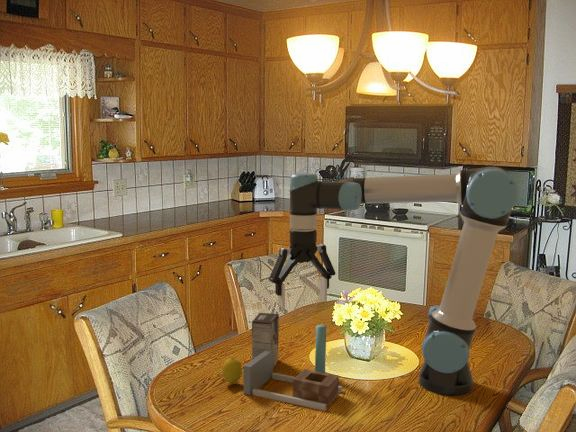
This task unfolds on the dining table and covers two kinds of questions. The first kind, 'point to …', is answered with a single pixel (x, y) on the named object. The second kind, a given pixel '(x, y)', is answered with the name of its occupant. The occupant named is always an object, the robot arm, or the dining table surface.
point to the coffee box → (265, 335)
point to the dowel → (320, 348)
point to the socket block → (316, 386)
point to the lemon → (232, 370)
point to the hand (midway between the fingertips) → (302, 303)
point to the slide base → (263, 371)
